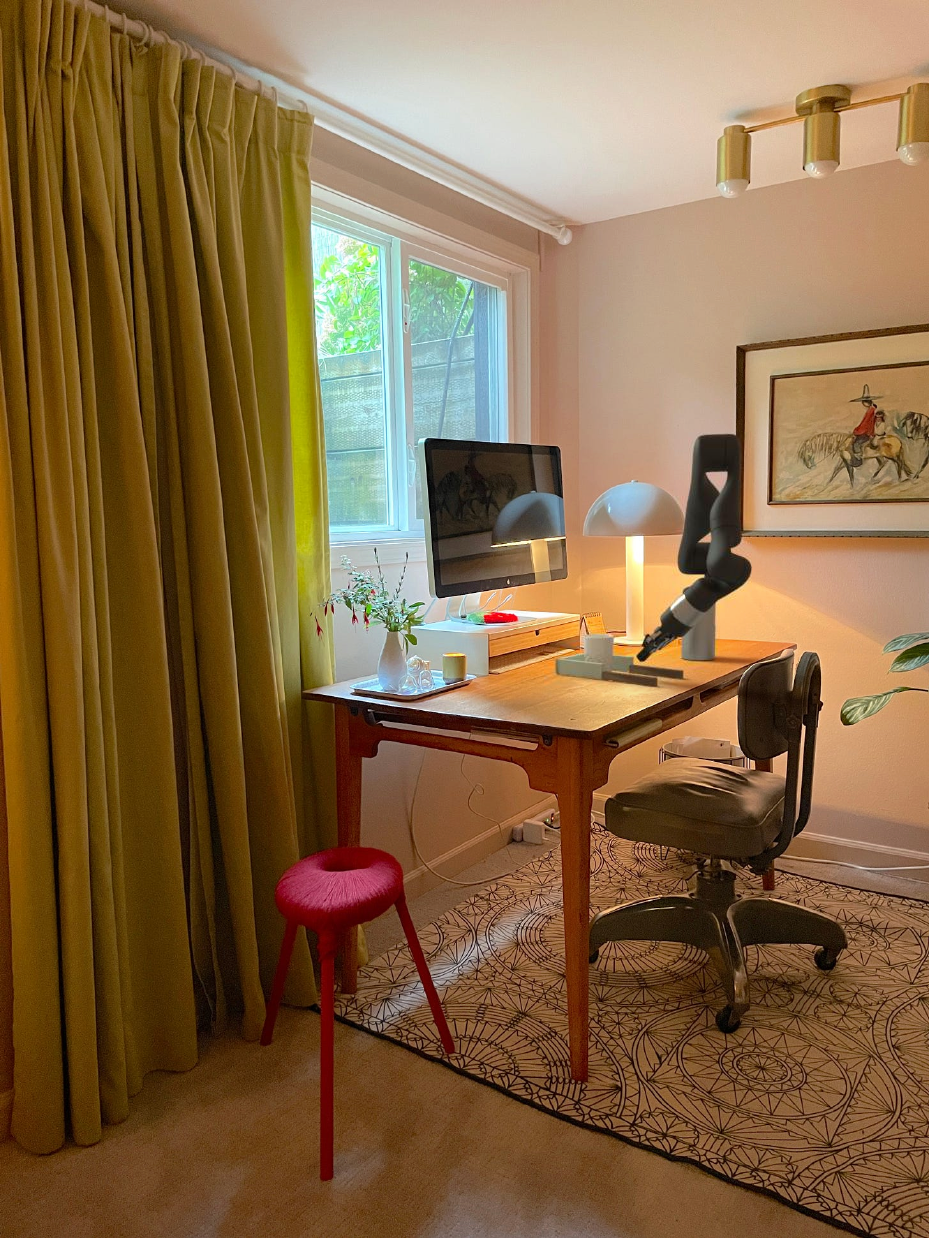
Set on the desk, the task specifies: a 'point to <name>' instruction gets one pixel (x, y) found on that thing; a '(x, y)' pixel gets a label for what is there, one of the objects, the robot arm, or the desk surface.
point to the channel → (645, 671)
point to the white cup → (599, 649)
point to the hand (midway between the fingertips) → (639, 659)
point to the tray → (589, 666)
